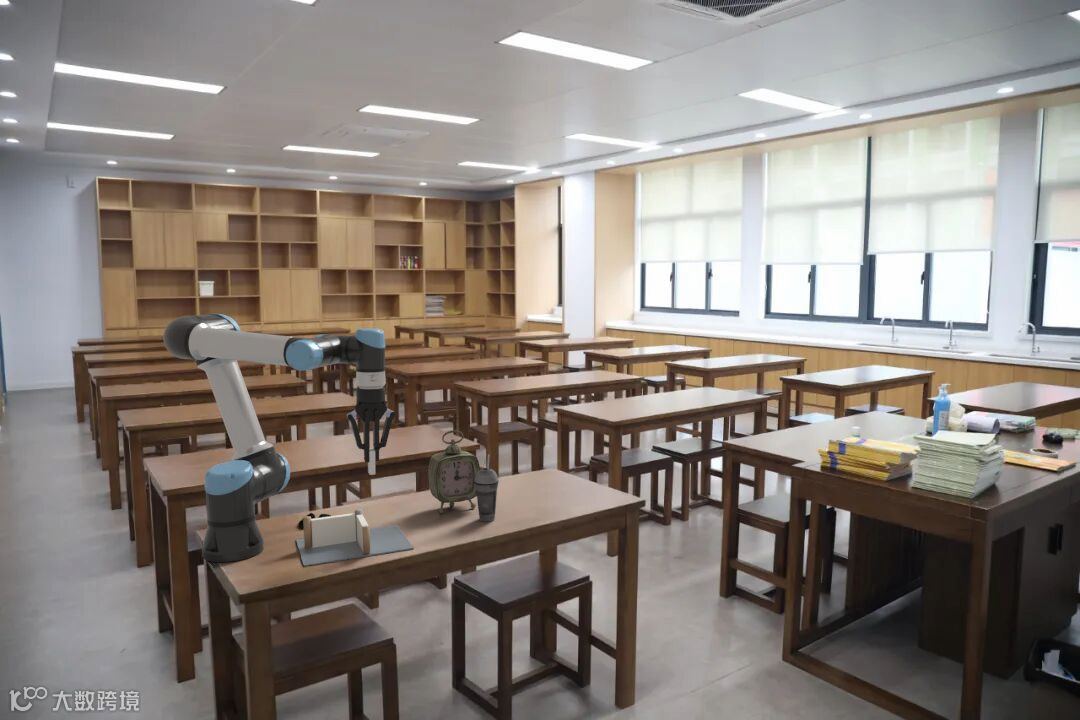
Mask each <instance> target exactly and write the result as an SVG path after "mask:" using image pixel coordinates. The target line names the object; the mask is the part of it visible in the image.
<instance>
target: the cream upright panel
mask: <svg viewBox="0 0 1080 720" xmlns="http://www.w3.org/2000/svg"><path fill="white" fill-rule="evenodd" d="M356 519H357V540H358V542H359V544H360V546H361V548H362V550H363V553H365V554H367V553H370V529H371V528H370V525H369V524H368V521H367V520H366V518H365V517H364V515H363V514H362V515H356Z"/></svg>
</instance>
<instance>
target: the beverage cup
mask: <svg viewBox="0 0 1080 720" xmlns="http://www.w3.org/2000/svg"><path fill="white" fill-rule="evenodd" d="M486 462H487V464H486V467H485V468H482V469H481V468H480V471H479V472H478V473H477V474H476V477H475V482H474V483H475V488H476V492H477V496H476V497H477V498H476V499H477V508H478V516H479V517H478V518H479V521H480V520H481V522H483V521H490V522H493V520H494V519H496V510H497V509H496V508H497V495H498V486H499V483H500V481H499V480H500V479H499V476H498V474H497V472H496V471H495V470H494V469H492V468H490V453H489V454H487V460H486ZM494 521H495V520H494Z"/></svg>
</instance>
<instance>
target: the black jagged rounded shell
mask: <svg viewBox="0 0 1080 720" xmlns="http://www.w3.org/2000/svg"><path fill="white" fill-rule="evenodd" d="M306 516H310V517H311V519H314V518H316V515H315V514H314V513H312V512H309V513H308V514H307V515H306ZM306 516H305V517H306ZM329 516H332V515H331V514H327V513H320V514H319V516H318V517H320V518H322V517H329ZM297 527H298V528H297V529H299V530H300V529H301V530H300V531H304V525H303V518H302V519H301V520H299V521H298V523H297Z"/></svg>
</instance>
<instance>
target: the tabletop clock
mask: <svg viewBox="0 0 1080 720" xmlns="http://www.w3.org/2000/svg"><path fill="white" fill-rule="evenodd" d="M453 433H454V434H455V433H457V434H460V435H461V438H460V439H459V440H455V439H451V440H450V441H446V440H445V439H444V438H445V437H446V435H448V434H449V435H450V434H453ZM463 440H464V434H463V432H462V431H459V430H448V431H446V432H445V433H444V434H443V435H442V436H441V441H442V442H443V443H444V444H445V445H446V444H447V445H448V446H446V447H445V450H444V451H443V452H439V453H436V454H433V455H432V456H431V457H430V459H429V462H428V473H427V475H428V476H427V477H428V487H429V490H430V493H431V495H432V497H434V499H436V500H437V501H439V502H440V503H441V504H440V507H439V508H438V509H437V512H438V513H439V514H443V513H444V509H443V507H444V504H449V507H450V508H454V507H455V503H459V502H460V503H461V502H464V501H468V502H469V503H470V508H471V509H475V508H476V506H477V505H476V503H474V502H473V501H472V499H474V498H476V497H477V492H476V488H475V483H474V482H475V477H476V474H477V473H478V472H479V471H480V470H481V467H480V462H479V460H478V457H477V456H476V455H474V454H473V453H470V452H468V451H466V450H462V449H461V447H460V446H459V445H458V444H459V443H460V442H462V441H463Z"/></svg>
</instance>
